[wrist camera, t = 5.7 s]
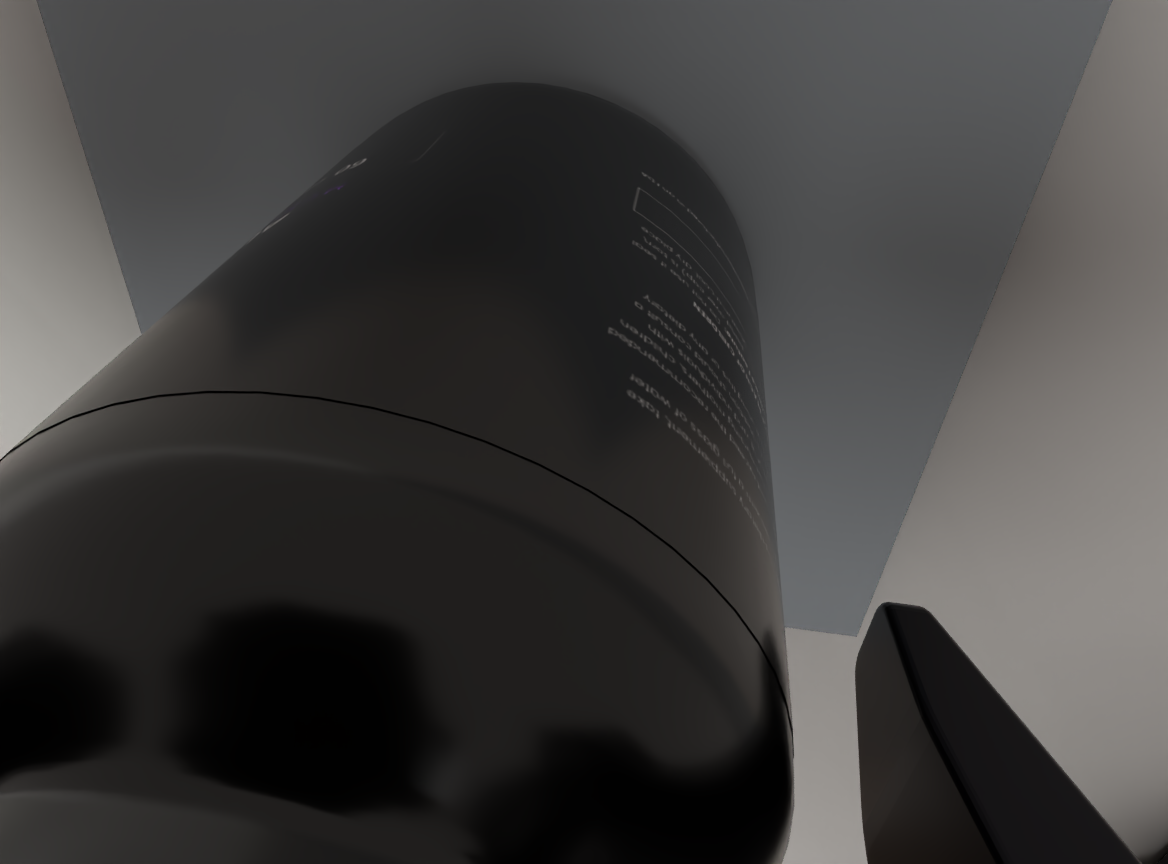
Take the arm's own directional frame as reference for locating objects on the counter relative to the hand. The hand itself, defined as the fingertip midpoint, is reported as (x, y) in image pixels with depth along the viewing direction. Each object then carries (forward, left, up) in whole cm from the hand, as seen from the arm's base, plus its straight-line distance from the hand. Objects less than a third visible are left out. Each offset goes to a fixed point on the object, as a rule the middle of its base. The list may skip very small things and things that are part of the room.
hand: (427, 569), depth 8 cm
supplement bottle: (0, 0, -6) cm, 6 cm away
